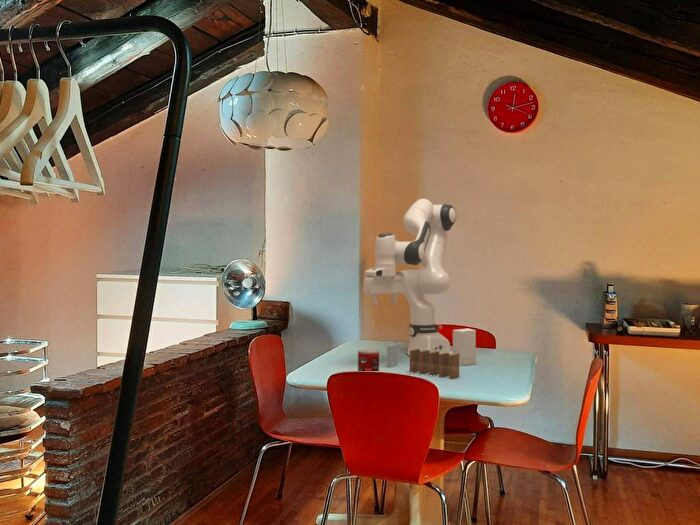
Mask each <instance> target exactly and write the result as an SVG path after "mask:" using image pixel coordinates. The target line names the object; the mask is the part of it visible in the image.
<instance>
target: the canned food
mask: <svg viewBox="0 0 700 525" xmlns="http://www.w3.org/2000/svg"><path fill="white" fill-rule="evenodd" d="M357 351H358V352H357V372H358V371H379V372H380V350H378V349H375V348H361V349H358V350H357Z"/></svg>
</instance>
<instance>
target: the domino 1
mask: <svg viewBox="0 0 700 525" xmlns="http://www.w3.org/2000/svg"><path fill="white" fill-rule="evenodd" d="M386 348H387V349H386V353H387V354H386V355H387V356H386V359H387V360H386V361H387V362H386V367H387V368H389V367H391V368H395V367H398V344H388V345H387V347H386ZM394 366H395V367H394Z"/></svg>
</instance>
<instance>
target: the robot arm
mask: <svg viewBox="0 0 700 525" xmlns="http://www.w3.org/2000/svg"><path fill="white" fill-rule="evenodd" d="M456 220H457V211H456V209H455V207H454V206H453V205H451V204H448V203H444V204H433V203H432V202H431V201H430V200H429V199H426V198H420V199H417V200H416V201H415V202H414V203H412V204H411V206H410V207H409V208H408V209H407V211H406V212H405V215H404V216H403V220H402V224H403V227H404V229H405V230H406V231H407V232H408V233H409V234H410V235H412V236H416V237H415V239H414V240H411V241H398V240H397V239H396V237H395V236H396V235H395V234H394V233H392V232H385V233H380V234H378V235H377V236H376V239H375V245H374V246H375V247H374V257H375V261H374V267H372V268H368V269H366V270H365V271H364V276H365V277H364V279H363V293H364V294H365V295H370V297H371V299H372V304H373V306H379V300H377V296H378V295H390V294H391V295H392V296H393V297H392V299H391V300H390V305H396V304H397V299H398V298H399V294H403V295H404V296H405V298H406V300H407V302H408V305H409V314H410V322H409V328H408V329H409V331H408V332H409V341H408V342H409V344H408V348H407V352H406V355H407V354H408V355H407V356H410V350H414V349H420V351H424V350H430V353H431V352H435V351H438V352H439V354H441V353H445V352H447V353H449V355H452V354H453V349H452V350H451V343H450V341H449V339H447V338H446V337H445V336H444V335H442V334H441V333H440V332H439V330H440V331H441V330H442V329H443V326H442V324H441V325H440V324H436V321H435V320H436V317H435V316H436V312H435V311H436V309H435V306H434V305H433V304H432V303H431V302H429V301H428V300H427V299H426V298H425V294H426V295H439V294H444V293H446V292H448V290H449V289H450V287H451V278H450V275H449V274H448V272H446V271H445V270H444V268H443V259H444V257H445V256H444V255H445V254H446V249H447V245H448V231H450V230H451V229H452V227H453V226H454V225H455V223H456ZM396 264H398V265H410V266H417V265H419V264H421V266H422V267H423V269H418V268H417V269H416V268H415V269H413V268H412V269H411V268H410V269H404V270H401V271H396Z"/></svg>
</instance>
